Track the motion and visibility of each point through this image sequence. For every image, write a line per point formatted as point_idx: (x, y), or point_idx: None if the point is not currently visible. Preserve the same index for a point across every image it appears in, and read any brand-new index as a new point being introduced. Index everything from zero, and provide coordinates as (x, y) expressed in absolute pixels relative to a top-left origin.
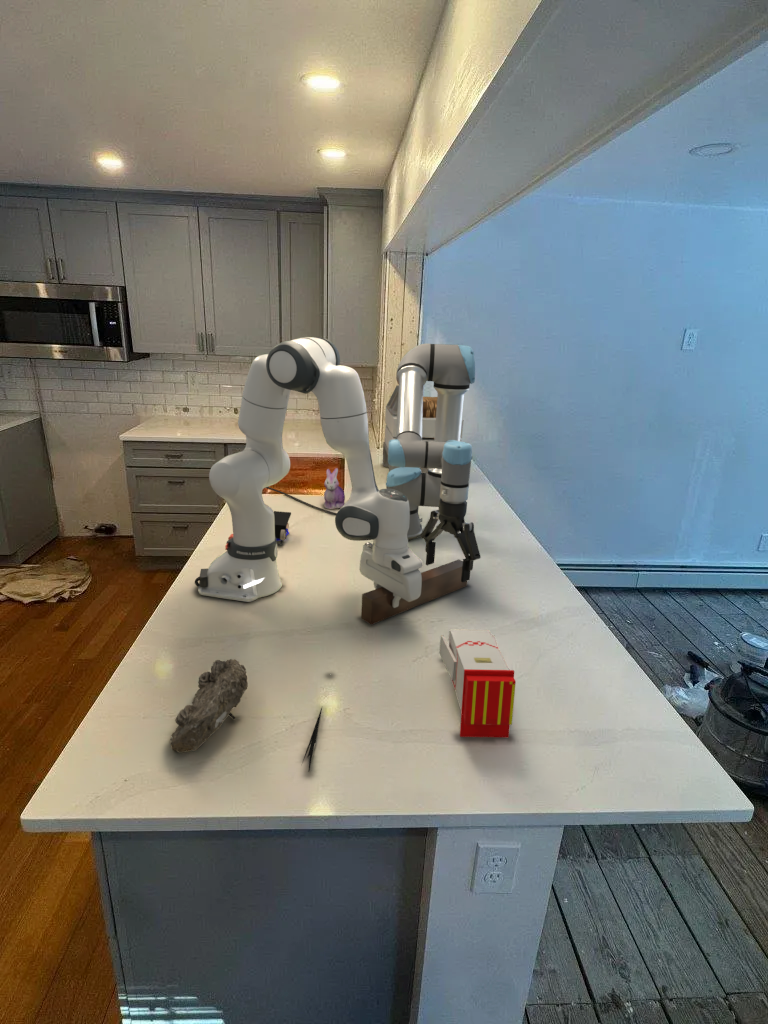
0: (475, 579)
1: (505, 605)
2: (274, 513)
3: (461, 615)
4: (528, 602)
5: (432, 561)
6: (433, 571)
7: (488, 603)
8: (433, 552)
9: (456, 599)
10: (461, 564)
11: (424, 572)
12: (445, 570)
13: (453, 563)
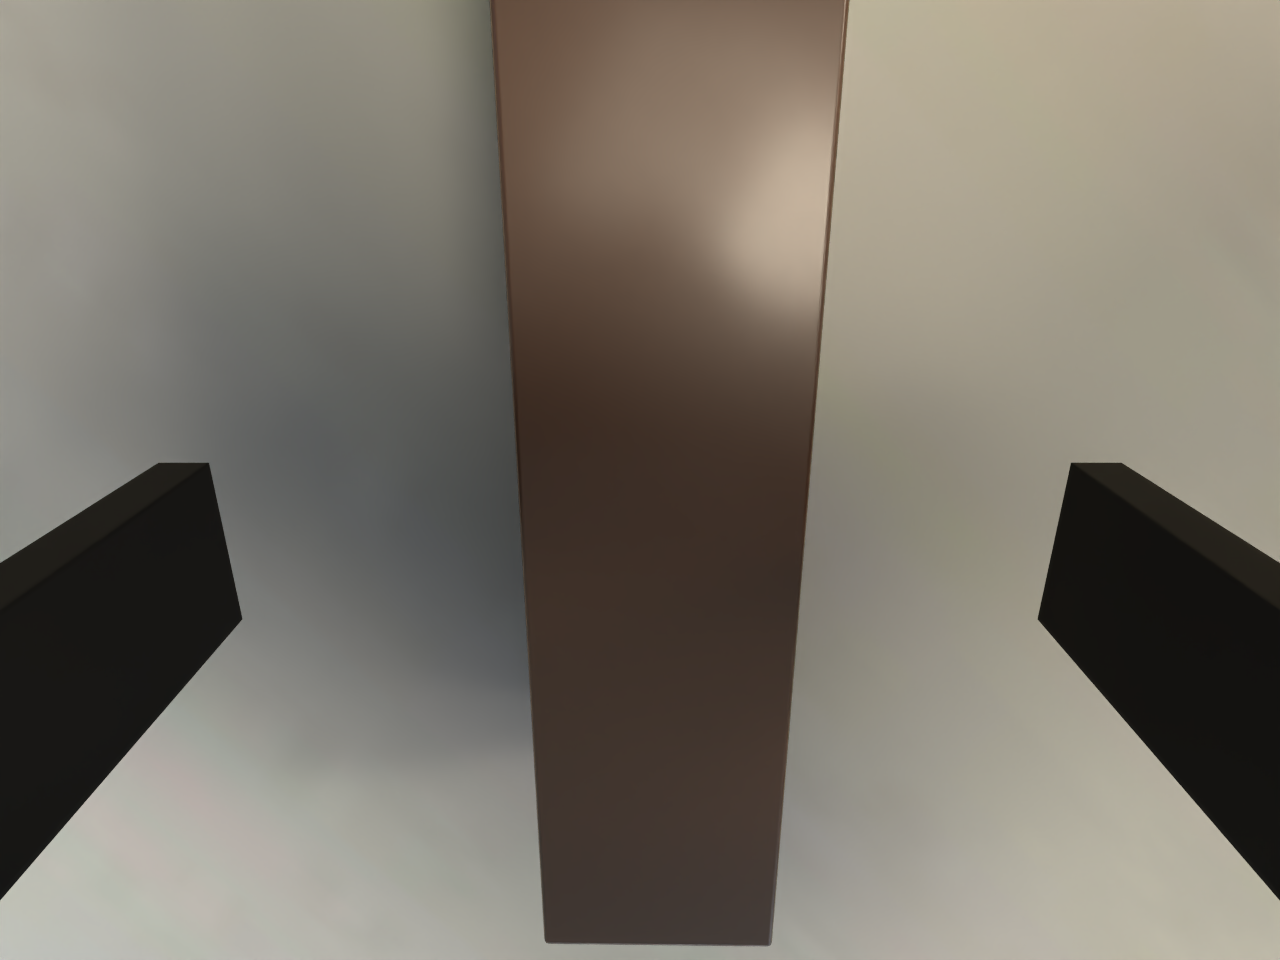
0: None
1: None
2: None
3: (30, 104)
4: None
5: (1067, 600)
6: (712, 238)
7: None
8: (1182, 730)
9: (400, 375)
10: (604, 855)
11: (812, 7)
12: (591, 482)
13: (715, 790)
